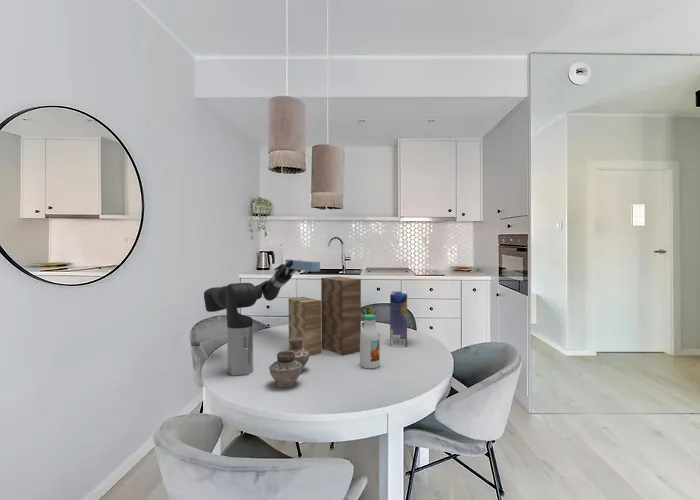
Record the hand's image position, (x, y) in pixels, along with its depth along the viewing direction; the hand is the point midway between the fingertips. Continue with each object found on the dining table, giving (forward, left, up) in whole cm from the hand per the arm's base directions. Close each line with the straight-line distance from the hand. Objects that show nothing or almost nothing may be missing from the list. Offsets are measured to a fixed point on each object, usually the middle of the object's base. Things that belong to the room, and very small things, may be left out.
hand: (296, 261), depth 182 cm
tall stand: (-13, -18, -39) cm, 45 cm away
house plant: (+10, -37, -39) cm, 55 cm away
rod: (-5, -2, -3) cm, 6 cm away
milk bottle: (-38, -24, -39) cm, 60 cm away
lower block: (-11, -2, -39) cm, 41 cm away
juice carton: (-10, -47, -39) cm, 62 cm away
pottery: (-43, +7, -40) cm, 59 cm away
